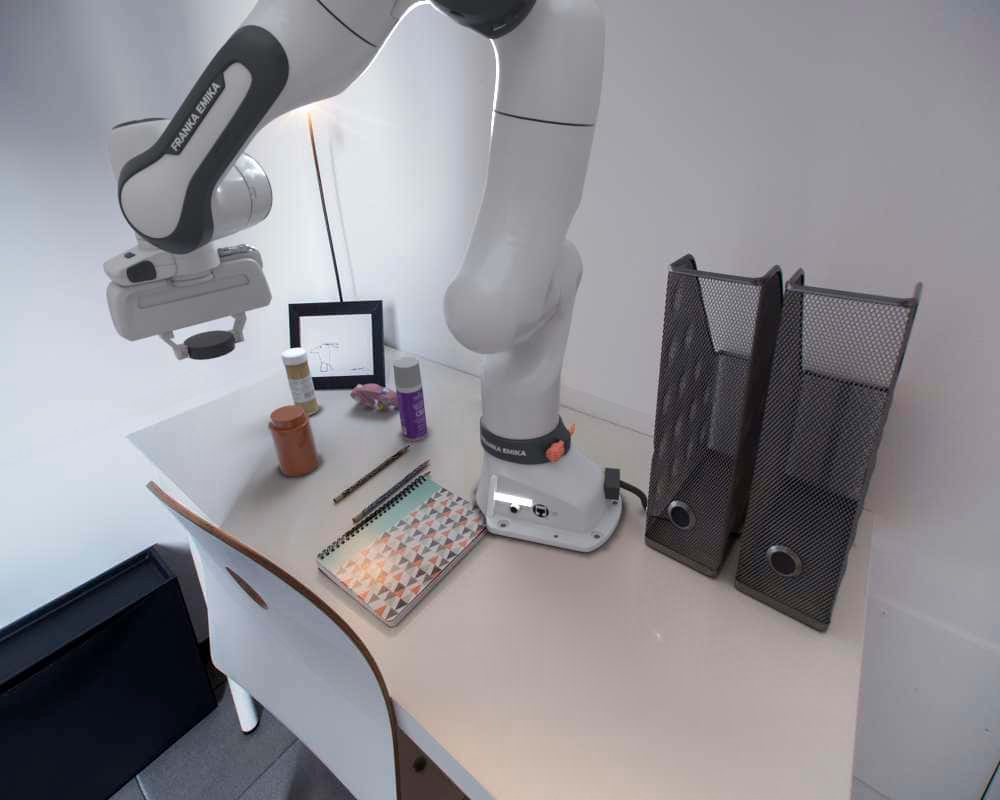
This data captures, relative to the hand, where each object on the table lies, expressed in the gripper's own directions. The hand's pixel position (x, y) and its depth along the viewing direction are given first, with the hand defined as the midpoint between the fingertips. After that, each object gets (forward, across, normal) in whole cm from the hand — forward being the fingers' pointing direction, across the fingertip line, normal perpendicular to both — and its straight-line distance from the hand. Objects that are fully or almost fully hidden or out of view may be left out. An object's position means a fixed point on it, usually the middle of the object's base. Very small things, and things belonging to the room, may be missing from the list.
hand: (211, 349), depth 78 cm
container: (+24, -27, +10) cm, 37 cm away
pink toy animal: (+24, -28, -4) cm, 37 cm away
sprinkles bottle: (+24, -18, -13) cm, 32 cm away
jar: (+23, -7, +3) cm, 25 cm away
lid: (-1, 0, 0) cm, 1 cm away
